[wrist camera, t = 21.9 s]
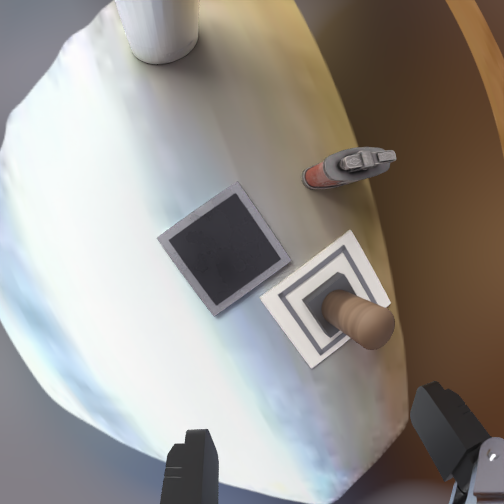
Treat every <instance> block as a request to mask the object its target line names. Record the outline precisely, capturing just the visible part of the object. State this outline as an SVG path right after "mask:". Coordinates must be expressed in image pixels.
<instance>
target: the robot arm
mask: <svg viewBox="0 0 504 504" xmlns="http://www.w3.org/2000/svg"><path fill="white" fill-rule="evenodd" d="M115 3H116V6H117V9H118V12H119V15H120V18H121V21H122V24H123V27H124V30H125V33H126V36H127V39H128V42H129V44H130V47H131V50H132V52H133V54H134V55H135V56H136V57H137V58H138V59H139V60H141V61H143V62H146V63H151V64H164V63H169V62H173V61H176V60H178V59H180V58H182V57H184V56H185V55H187V54H188V53H189V52H190V51H191V50H192V49H193V48H194V46H195V45H196V43H197V40H198V31H199V3H200V0H115ZM410 417H411V422H412V424H413V426H414V428H415V430H416V431H417V433H418V435H419V437H420V438H421V440H422V442H423V443H424V445H425V447H426V449H427V451H428V452H429V454H430V456H431V457H432V460H433V461H434V463H435V465H436V467H437V468H438V470H439V472H440V474H441V476H442V478H443V480H444V481H447V480H449V479H451V478H453V477H454V479H455V480H456V482H455V484H454V487H453V491H452V495H451V499H450V502H449V504H504V440H503V439H502V438H498V437H493V438H492V437H491V436H490V435H489V434H488V433H487V431H486V430H485V429H484V427H483V426H482V425H481V423H480V422H479V421H478V419H477V418H476V417H475V415H474V414H473V413H472V412H470V409H469V408H468V406H467V405H465V402H464V401H463V400H462V399H461V397H460V396H459V395H458V394H456V393H455V392H453V391H451V390H450V389H447V390H444V389H443V387H442V386H441V385H440V384H439V383H438V382H437V381H433V382H431V383H428V384H426V385H423V386H420V387H419V388H418V389H417V392H416V395H415V399H414V402H413V405H412V409H411V414H410ZM164 476H165V478H164V481H163V487H162V494H161V501H160V504H218V478H219V461H218V454H217V450H216V448H215V445H214V443H213V440H212V438H211V435H210V433H209V430H208V429H197V430H187V432H186V437H185V444H174V446H173V447H172V449H171V450H170V452H169V453H168V455H167V461H166V469H165V474H164Z"/></svg>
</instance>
